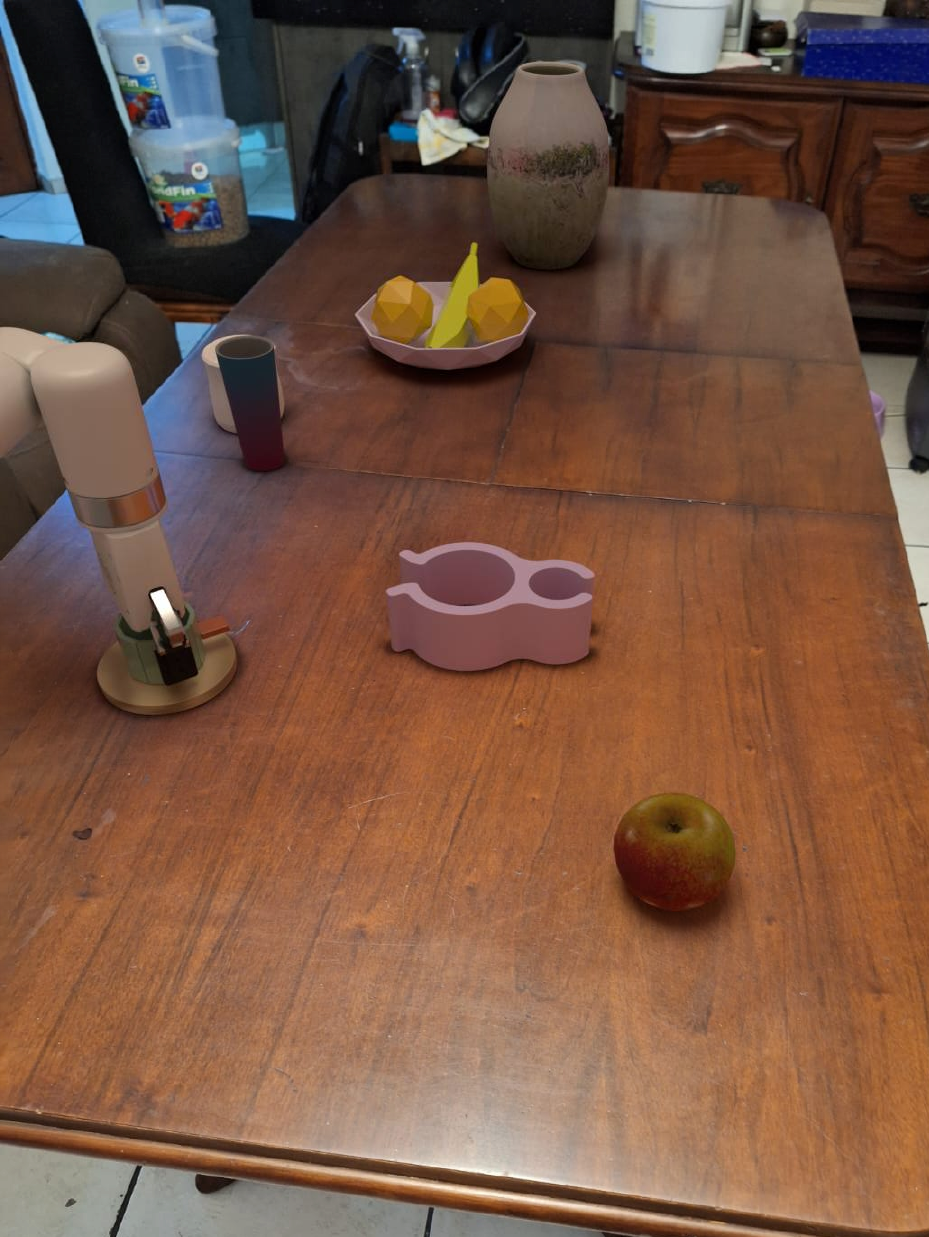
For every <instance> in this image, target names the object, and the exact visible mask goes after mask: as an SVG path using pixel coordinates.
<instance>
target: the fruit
mask: <svg viewBox="0 0 929 1237" xmlns="http://www.w3.org/2000/svg"><path fill="white" fill-rule="evenodd" d="M733 834H734V833H733V832H732V828H731V826H730V825H729V822H727V819H725V817H724V816H723V815H722V813H721V812H719V811H718V810H717V809H716V808H715V807H714V806H713V805H711V804H710V803H708V802H707V801H705V800H703V799H701V798H699V797H697V796H694V795H690V794H687V793H682V792H661V793H657V794H653V795H650V796H648V797H645V798H643V799H641V800H639V801H638V802H636V803H634V805H632V806H631V807H630V808H629V809H628V810H627V811H626V812H625V813H624V814H623V816H622V817H621V819H620V821H619V823H618V825H617V827H616V829H615V833H614V837H613V854H614V861H615V865H616V868H617V871H618V873H619V876H620V877H621V879H622V881H623V883H624V884H625V886H626V887H627V888H628V890H629V891H630V892H631V893H632V894H633V895H634V896H636V897H637V899H639V900H640V901H642V902H644V903H646V904H648V905H649V906H651V907H654V908H657V909H661V910H665V911H670V912H681V911H688V910H693V909H696V908H699V907H701V906H703V905H705V904H707V903H708V902H710V901H712V900H714V899H715V898H716V897H717V896H718V895H720V893H721V892H722V891H723V890H724V889H725V887H726V886H727V884H728V883H729V881H730V879H731V877H732V874H733V871H734V868H735V863H736V843H735V841H736V840H735V837H734V835H733Z"/></svg>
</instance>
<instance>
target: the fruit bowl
mask: <svg viewBox="0 0 929 1237" xmlns="http://www.w3.org/2000/svg"><path fill="white" fill-rule="evenodd" d="M478 249H479V244H478V243H477V242H474V241H473V242H472V243H471V244H470V249H469V254H468V255H467V257H466V258H465V259H464V261H463V263H462V265H461V267H460V268H459V269H458V271H457V274H456V275H455V276H454V278H453V280H452V281H419V282H415V281H413V280H411V279H409V278H407V277H404V276H403V275H400V274H399V275H398V276H396V277H394V278H392V279H390V280H387V281H386V282H384V283H383V284H382V285H380V286H379V287H378V288H377V291H376V293H374V294H373V295H372V296H371V297H370V298H369V299H368V300H367V301H366V302H365V304H363V305H362V306H361V307H360V308H359V309H358V310H357V311H356V312H355V313H354V316H355V317H356V319H357V321H358V323H359V324H360V326H361V328H362V330H363V332H364V333H365V336H366V337H367V339H368V340H369V343H370V344H371V346H372V348H373V349H375V350H376V351H379V352H380V353H382V354H384V355H385V356H387V357H388V358H390V359H392V360H395V361H396V362H398V363H401V364H405V365H409V366H412V367H415V368H419V369H429V370H430V369H431V370H445V371H448V370H449V371H451V370H461V369H472V368H478V367H481V366H484V365H487V364H488V365H489V364H490V363H494V362H497V361H498V360H500V359H502V358H503V357H505V356H507V355H508V354H510V353H512V352H514V350H517V349H518V348H521V346H522V344H523V342H524V340H525V338H526V336H527V333H528V332H529V330H530V327H531V325H532V323H533V321H534V319H535V317H536V315H537V312H536V311H535V310H534V309H533V308H532V307H531V306H530V305H529V304H528V303H527V302H526V301H525V300H524V297H523V295H522V292H521V289H520V288H519V287H518V286H517V285H516V284H515V283H514V282H513V281H512V280H511V279H507V278H500V277H490V278H489V279H487V280H486V281H485V282H484V283H480V270H479V269H480V268H479V258H478V256H477V255H478Z"/></svg>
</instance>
